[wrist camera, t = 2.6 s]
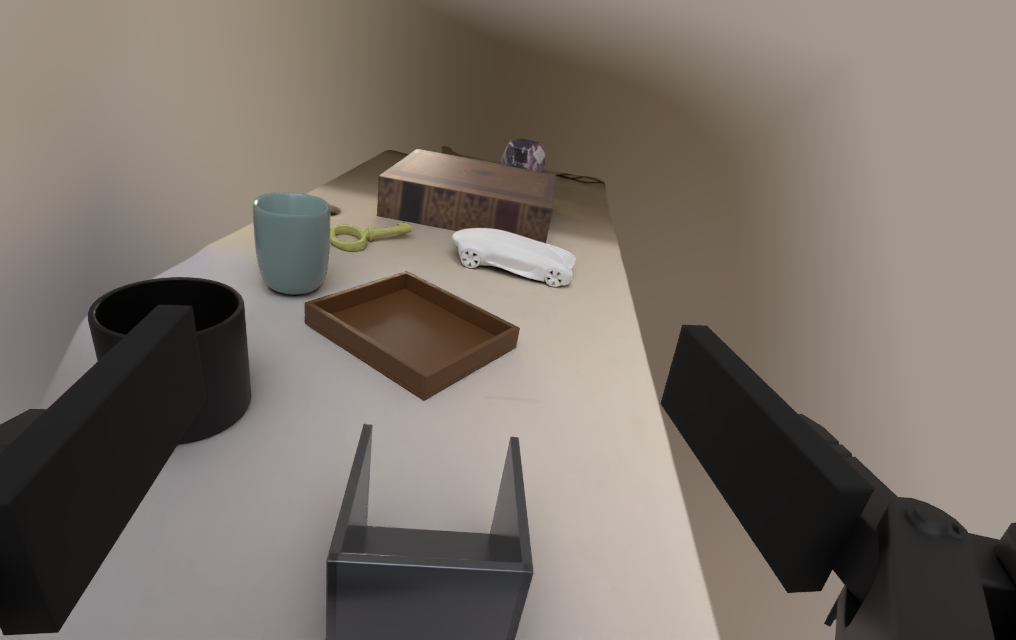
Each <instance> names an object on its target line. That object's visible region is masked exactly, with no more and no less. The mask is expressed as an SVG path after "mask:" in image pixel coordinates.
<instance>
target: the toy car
mask: <svg viewBox="0 0 1016 640" xmlns="http://www.w3.org/2000/svg"><path fill="white" fill-rule="evenodd" d="M452 238H453V242H454V243H455V245H457V246H458V253H459V256H460V258H461V262H462V264H463V265H464V266H466V267H468V268H475V267H477V266H478V265H488V266H496V267H500V268H502V269H505V270H508V271H510V272H513V273H515V274H518V275H521V276H524V277H527V278H530V279H534V280H539V281H546V283H547V284H548V285H550V286H552V287H558V286H560V285H561V286H564V285H568V284H569V283H570V282H571V280H572V278H573V272H572V270H571V269H572V267H573V266H574V265H575V262H576V257H575V256H574V255H573V254H572V253H570V252H568V251H566V250H564V249H562V248H559V247H556V246H553V245H550V244H546V243H543V242H539V241H536V240H533V239H529V238H526V237H523V236H520V235H517V234H513V233H510V232H507V231H503V230H498V229H490V228H470V229H462V230H459V231H457V232H455V233H454V234H453V236H452ZM467 251H468V254H466V252H467ZM473 253H475V254H477V256H473ZM469 257H470V258H469ZM472 258H473V259H472ZM465 259H467V260H465ZM474 260H477V261H478V262H477V263H475V262H474ZM470 262H471V264H470ZM480 262H481V263H480ZM551 271H553V274H551V273H549V272H551ZM558 272H559V274H558V275H557V273H558ZM547 277H548V278H550V279H549V280H548V278H547ZM557 279H560V280H561V281H560V282H559V281H558V280H557ZM553 281H554V282H555V283H553Z"/></svg>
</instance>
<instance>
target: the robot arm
mask: <svg viewBox="0 0 1016 640" xmlns="http://www.w3.org/2000/svg"><path fill="white" fill-rule="evenodd" d="M206 399H207V396H206V390H205V383H204V377H203V371H202V364H201V358H200V352H199V345H198V339H197V333H196V326H195V320H194V314H193V307H192V306H181V305H158V306H157V307H156V308H154V309H153V310H152V311H151V312H150V313H149V314H148V315H147V316H146V317H145V318H144V319H143V320H142V321H141V322H140V323H139V324H137V325H136V326H135V327H134V328H133V329H132V330H131V331H130V332H129V333H128V334H127V335H126V336H125V337H124V338H123V339H121V340H120V341H119V342H118V343H117V344H116V345H115V346H114V347H113V348H112V349H111V350H110V351H109V352H108V353H107V354H105V355H104V356H103V357H102V358H101V359H100V360H99V361H98V362H97V363H96V364H95V365H94V366H93V367H92V368H91V369H90V370H88V371H87V372H86V373H85V374H84V375H83V376H82V377H81V378H80V379H79V380H78V381H77V382H76V383H75V384H74V385H72V386H71V387H70V388H69V389H68V390H67V391H66V392H65V393H64V394H63V395H62V396H61V397H60V398H59V399H58V400H56V401H55V402H54V403H53V404H52V405H51V406H50V407H49V408H48V409H29V410H27V411H26V412H24V413H22V414H20V415H18V416H16V417H14V418H12V419H10V420H8V421H7V422H5V423H3V424H1V425H0V628H1V630H2V632H3V634H4V635H20V634H39V633H57V632H59V630H60V629H61V627H62V626H63V624H64V623H65V621H66V619H67V618H68V616H69V615H70V613H71V612H72V610H73V608H74V607H75V605H76V604H77V602H78V601H79V599H80V597H81V596H82V594H83V593H84V591H85V590H86V588H87V586H88V585H89V583H90V582H91V580H92V578H93V577H94V575H95V574H96V572H97V571H98V569H99V567H100V566H101V564H102V563H103V561H104V560H105V558H106V556H107V555H108V553H109V552H110V550H111V549H112V547H113V545H114V544H115V542H116V541H117V539H118V538H119V536H120V534H121V533H122V531H123V530H124V528H125V527H126V525H127V523H128V522H129V520H130V519H131V517H132V516H133V514H134V512H135V511H136V509H137V508H138V506H139V504H140V503H141V501H142V500H143V498H144V497H145V495H146V493H147V492H148V490H149V489H150V487H151V486H152V484H153V482H154V481H155V479H156V478H157V476H158V475H159V473H160V471H161V470H162V468H163V467H164V465H165V464H166V462H167V460H168V459H169V457H170V456H171V454H172V453H173V451H174V449H175V448H176V446H177V445H178V443H179V442H180V440H181V438H182V437H183V435H184V434H185V432H186V430H187V429H188V427H189V426H190V424H191V423H192V421H193V419H194V418H195V416H196V415H197V413H198V412H199V410H200V408H201V407H202V405H203V404H204V402H205V401H206ZM661 405H662V406H663V408H664V409H665V411H666V412H667V414H668V415H669V417H670V418H671V420H672V421H673V423H674V424H675V426H676V427H677V429H678V430H679V432H680V433H681V435H682V436H683V438H684V439H685V441H686V442H687V444H688V445H689V447H690V448H691V450H692V451H693V452H694V454H695V456H696V457H697V459H698V460H699V462H700V463H701V465H702V466H703V468H704V469H705V471H706V472H707V473H708V475H709V477H710V478H711V480H712V481H713V482H714V484H715V485H716V487H717V488H718V490H719V491H720V493H721V494H722V496H723V497H724V499H725V500H726V502H727V503H728V505H729V506H730V508H731V509H732V511H733V512H734V514H735V515H736V517H737V518H738V519H739V521H740V522H741V524H742V526H743V527H744V529H745V530H746V532H747V533H748V534H749V536H750V537H751V539H752V541H753V542H754V543H755V545H756V547H757V548H758V549H759V551H760V552H761V554H762V555H763V557H764V558H765V560H766V561H767V563H768V564H769V566H770V567H771V569H772V570H773V571H774V573H775V575H776V576H777V577H778V579H779V581H780V582H781V583H782V585H783V587H784V588H785V590H786V591H787V593H795V592H814V591H821V590H822V588H823V587H824V585H825V583H826V581H827V579H828V577H829V575H830V573H831V571H832V569H833V570H834V572H835V573H836V574H837V576H838V577H839V578H840V579H841V581H842V582H843V583H844V584H845V585H844V587H843V589H842V591H841V593H840V595H839V596H838V598H837V600H836V602H835V604H834V606H833V607H832V609H831V611H830V613H829V615H828V616H827V619H826V621H825V623H824V624H826V625H828V626H831V625H832V623H833V621H834V620H835V619H837V621H836V636H835V640H1016V523H1012V524H1011V525H1010V526H1009V527H1008V529H1007V530H1006V532H1005V533H1004V535H1003V536H1002V538H1001V539H1000V540H998V539H993V538H989V537H984V536H979V535H975V534H971V533H968V532H967V530H966V529H965V528H964V527H963V526H962V525H961V524H960V523H959V522H958V521H957V520H956V519H954V518H953V517H951V516H950V515H948V514H947V513H945V512H944V511H942V510H941V509H939V508H936V507H935V506H932V505H930V504H928V503H926V502H923V501H919V500H916V499H913V498H903V497H897V496H896V495H895V494H894V493H893V492H892V491H891V490H890V489H889V488H887V486H886V485H884V484H883V483H882V482H881V481H880V480H879V479H878V478H877V477H876V476H875V475H874V474H873V473H872V472H871V471H870V470H868V469H867V468H866V467H865V466H864V465H863V464H862V463H861V462H860V461H859V460H858V459H857V458H856V457H852V454H851V453H850V452H849V451H848V450H847V449H846V448H845V447H844V446H843V445H839V441H838V440H837V439H835V438H834V437H833V436H832V435H831V434H830V433H829V432H828V431H827V430H826V429H825V428H824V427H822V426H821V425H819V424H817V423H816V422H814V421H813V420H811V419H809V418H808V417H806V416H804V415H803V414H797V413H796V412H795V411H794V410H793V409H792V408H791V407H790V406H789V405H788V404H787V403H786V402H785V401H784V400H783V399H782V398H781V397H780V396H779V395H778V394H777V393H776V392H775V391H774V390H773V389H772V388H770V387H769V386H768V385H767V384H766V383H765V382H764V381H763V380H762V379H761V378H760V377H759V376H758V375H757V374H756V373H755V372H754V371H753V370H752V369H751V368H750V367H749V366H748V365H747V364H745V362H744V361H743V360H741V358H739V357H738V356H737V355H736V354H735V353H734V352H733V351H732V350H731V349H730V348H729V347H728V346H727V345H726V344H725V343H724V342H723V341H722V340H721V339H720V338H719V337H718V336H717V335H716V334H715V333H714V332H712V330H711V329H709V328H708V327H707V326H700V325H697V326H696V325H682V328H681V332H680V335H679V339H678V343H677V346H676V350H675V353H674V357H673V361H672V364H671V368H670V372H669V375H668V379H667V382H666V386H665V390H664V393H663V397H662V400H661Z"/></svg>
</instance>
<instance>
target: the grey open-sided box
mask: <svg viewBox="0 0 1016 640" xmlns="http://www.w3.org/2000/svg"><path fill="white" fill-rule="evenodd" d="M371 444H372V425H370V424H364V425H363V429H362V432H361V436H360V440H359V443H358V447H357V451H356V454H355V458H354V462H353V465H352V469H351V473H350V477H349V480H348V484H347V488H346V491H345V495H344V499H343V502H342V506H341V510H340V513H339V517H338V521H337V524H336V528H335V532H334V535H333V539H332V543H331V546H330V550H329V554H328V557H327V561H326V640H515V636H516V633H517V629H518V626H519V622H520V619H521V615H522V611H523V608H524V604H525V601H526V597H527V594H528V590H529V587H530V583H531V579H532V576H533V564H532V555H531V546H530V537H529V528H528V519H527V510H526V501H525V492H524V483H523V474H522V465H521V456H520V447H519V438H518V437H511V438H510V442H509V446H508V451H507V456H506V461H505V465H504V470H503V475H502V479H501V484H500V489H499V494H498V498H497V503H496V508H495V512H494V517H493V522H492V527H491V531H490V534H483V533H467V532H452V531H436V530H420V529H404V528H389V527H373V526H367V516H368V498H369V480H370V462H371Z"/></svg>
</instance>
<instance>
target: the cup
mask: <svg viewBox="0 0 1016 640" xmlns="http://www.w3.org/2000/svg"><path fill="white" fill-rule="evenodd" d="M253 225H254V239H255V249H256V257H257V262H258V267H259V270H260V273H261V276H262V278H263V280H264V282H265V283H266V284H267V285H268V286H269V287H270V288H271V289H273V290H274V291H277V292H279V293H283V294H292V295H298V294H306V293H309V292H312V291H314V290H316V289H317V288H318V287H319V286H320V285H321V284H322V282H323V281H324V279H325V276H326V273H327V269H328V263H329V254H330V207H329V204H328V203H327V202H326V201H325V200H323V199H321V198H319V197H316V196H311V195H306V194H299V193H270V194H265V195H261V196H259V197H257V198H256V199H255V200H254V203H253Z"/></svg>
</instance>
